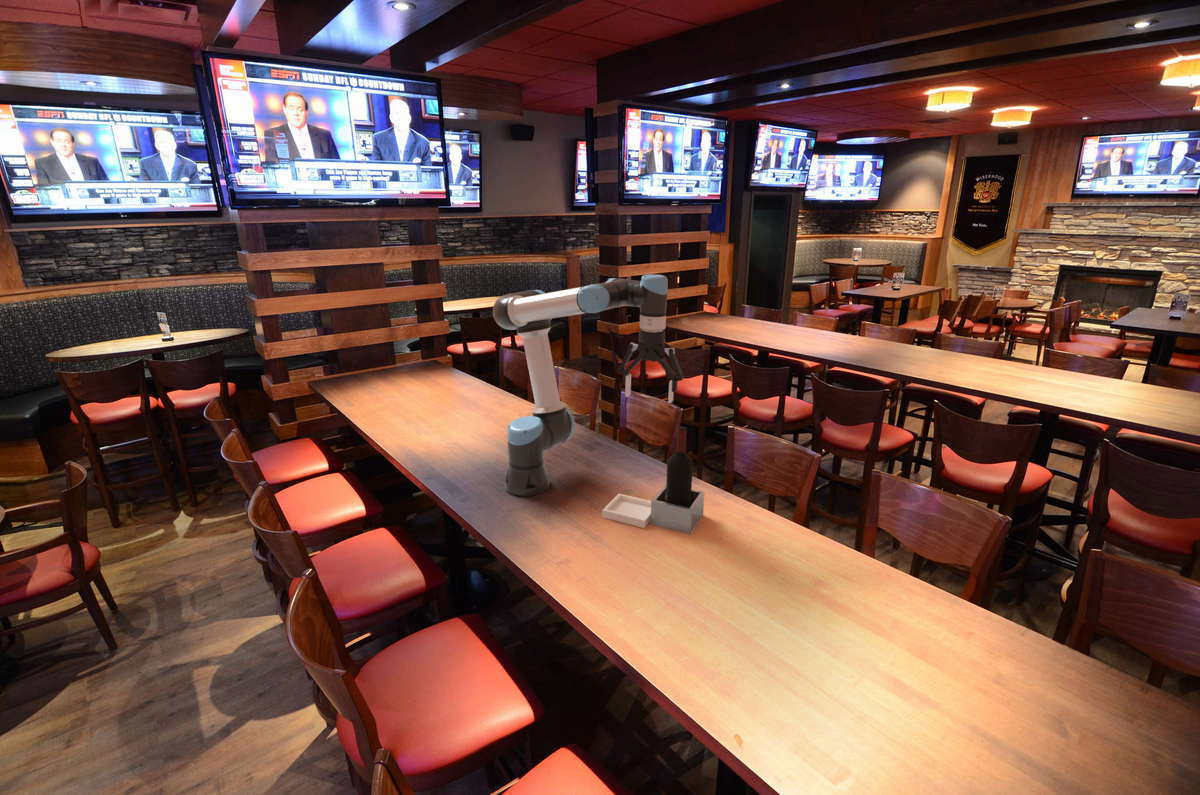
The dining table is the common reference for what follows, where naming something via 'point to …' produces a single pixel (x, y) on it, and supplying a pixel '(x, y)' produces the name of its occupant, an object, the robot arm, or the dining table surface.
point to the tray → (628, 510)
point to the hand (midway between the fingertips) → (648, 398)
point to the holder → (677, 512)
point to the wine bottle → (679, 473)
